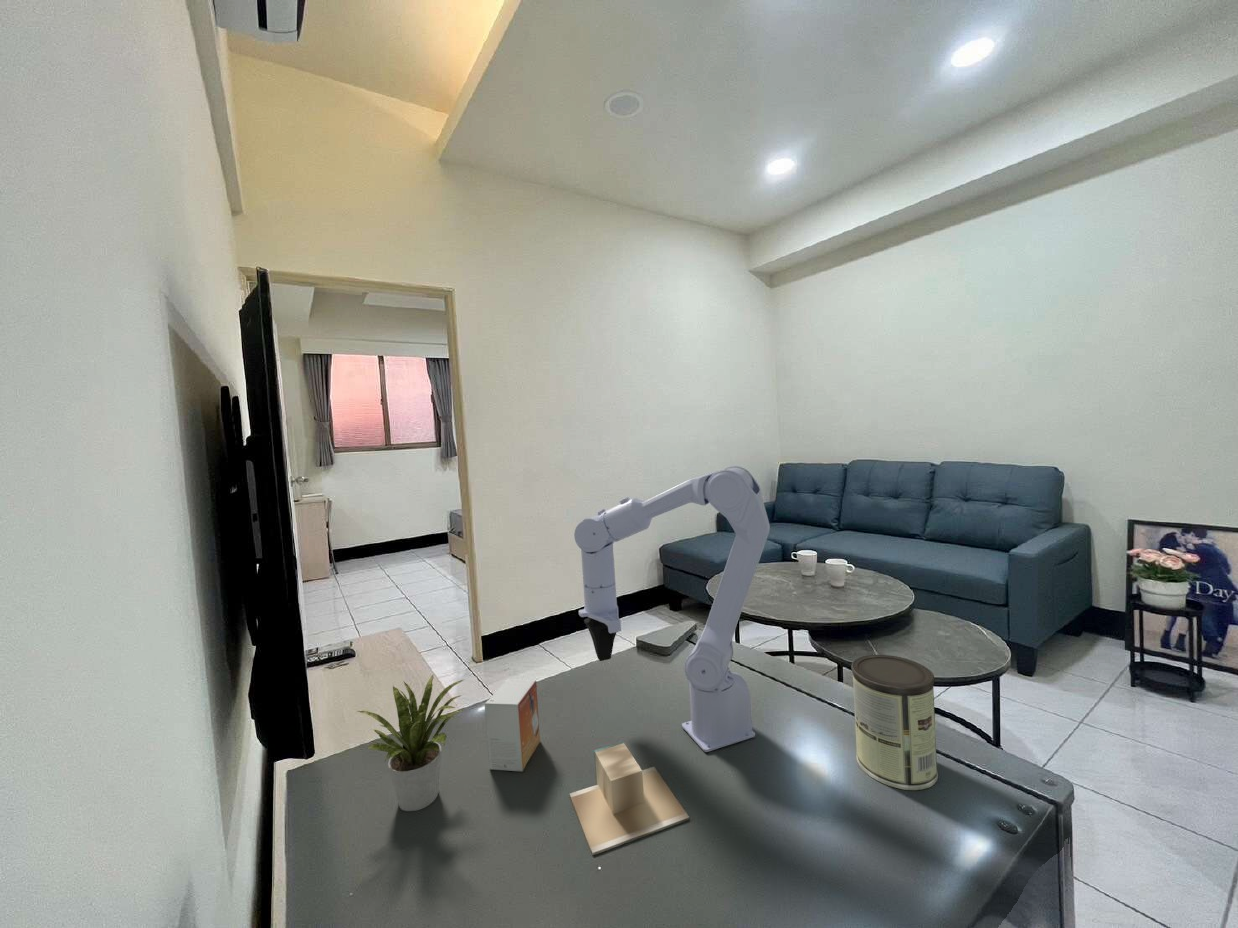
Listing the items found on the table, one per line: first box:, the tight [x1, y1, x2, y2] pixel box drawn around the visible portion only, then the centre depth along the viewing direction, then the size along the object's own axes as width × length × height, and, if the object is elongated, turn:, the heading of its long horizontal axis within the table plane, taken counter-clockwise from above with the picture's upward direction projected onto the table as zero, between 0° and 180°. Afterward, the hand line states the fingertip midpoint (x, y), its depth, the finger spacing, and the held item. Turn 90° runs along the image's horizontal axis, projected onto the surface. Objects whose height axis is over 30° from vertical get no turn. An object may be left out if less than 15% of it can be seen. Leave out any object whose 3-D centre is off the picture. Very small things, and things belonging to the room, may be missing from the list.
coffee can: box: [850, 654, 939, 791], centre depth 69 cm, size 10×10×14 cm
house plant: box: [356, 674, 466, 812], centre depth 69 cm, size 14×14×16 cm
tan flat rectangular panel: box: [569, 766, 690, 856], centre depth 65 cm, size 13×11×1 cm
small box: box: [484, 678, 541, 772], centre depth 77 cm, size 8×6×10 cm
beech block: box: [593, 741, 644, 814], centre depth 67 cm, size 4×4×7 cm
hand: (604, 658), depth 87 cm, fingers closed
